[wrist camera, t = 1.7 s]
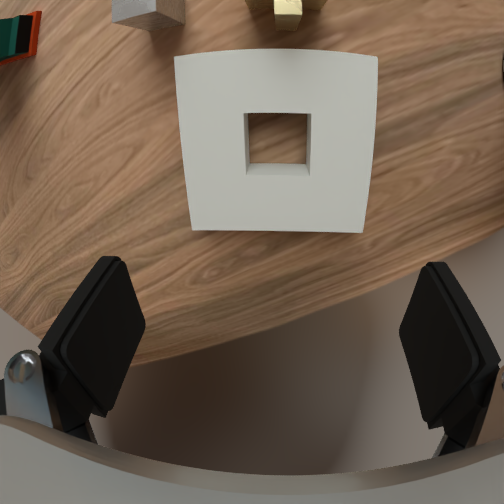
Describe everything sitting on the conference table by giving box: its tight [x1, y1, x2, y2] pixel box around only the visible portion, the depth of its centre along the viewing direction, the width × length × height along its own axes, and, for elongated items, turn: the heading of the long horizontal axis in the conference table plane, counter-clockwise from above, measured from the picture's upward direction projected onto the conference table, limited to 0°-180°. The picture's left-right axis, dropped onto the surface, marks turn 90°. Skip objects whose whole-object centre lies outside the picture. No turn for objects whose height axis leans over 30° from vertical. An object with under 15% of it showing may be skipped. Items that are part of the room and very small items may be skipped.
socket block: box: [174, 49, 378, 233], centre depth 28 cm, size 18×18×4 cm
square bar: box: [112, 0, 185, 31], centre depth 19 cm, size 4×4×8 cm
